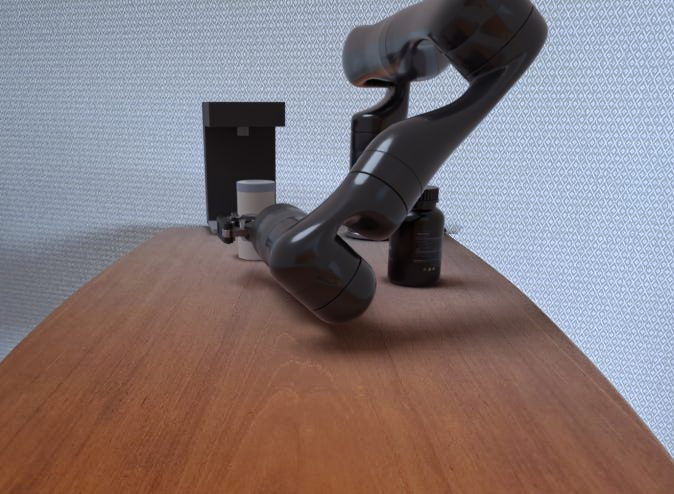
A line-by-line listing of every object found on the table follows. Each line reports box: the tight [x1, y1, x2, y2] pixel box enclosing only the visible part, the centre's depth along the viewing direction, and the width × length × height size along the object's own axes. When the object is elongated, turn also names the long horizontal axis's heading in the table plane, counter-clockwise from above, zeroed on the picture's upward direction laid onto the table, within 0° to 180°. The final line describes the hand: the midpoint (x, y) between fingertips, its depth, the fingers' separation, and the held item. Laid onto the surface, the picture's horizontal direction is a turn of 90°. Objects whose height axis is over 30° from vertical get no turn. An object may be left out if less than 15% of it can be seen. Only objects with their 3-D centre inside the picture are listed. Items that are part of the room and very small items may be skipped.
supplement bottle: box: [386, 184, 446, 288], centre depth 86 cm, size 7×7×12 cm
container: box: [237, 180, 275, 261], centre depth 100 cm, size 6×6×11 cm
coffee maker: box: [201, 101, 286, 235], centre depth 123 cm, size 13×13×22 cm
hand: (264, 218), depth 93 cm, fingers open, 8 cm apart
